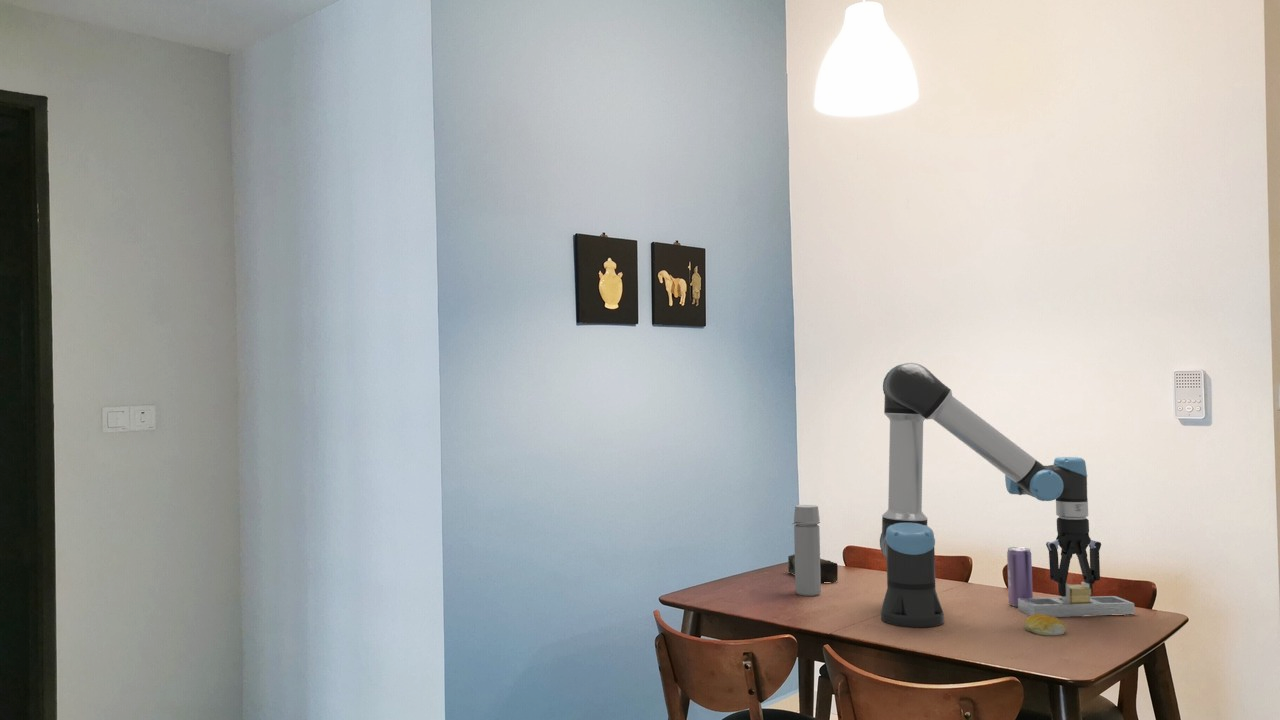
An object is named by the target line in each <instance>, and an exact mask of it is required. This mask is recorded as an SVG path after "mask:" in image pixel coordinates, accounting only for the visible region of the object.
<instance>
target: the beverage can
mask: <svg viewBox="0 0 1280 720" xmlns="http://www.w3.org/2000/svg"><path fill="white" fill-rule="evenodd" d="M1006 553H1007V554H1006V555H1007V556H1006V559H1007V561H1006V563H1007V589H1008V590H1007V591H1008V594H1007V595H1008V603H1009V605H1010V606H1011V605H1012V607H1014V606H1015V607H1016V608H1018V598H1034V597H1033V595H1034V594H1033V593H1034V591H1033V566H1032V552H1031V549H1030V548H1029V547H1022V546H1013V547H1011V546H1010V547H1007V552H1006ZM1015 607H1014V608H1015Z"/></svg>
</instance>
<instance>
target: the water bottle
mask: <svg viewBox="0 0 1280 720" xmlns="http://www.w3.org/2000/svg"><path fill="white" fill-rule="evenodd" d="M820 523H821V520H820V513H819V505H816V504H815V505H814V504H797V505H794V517H793V522H792V523H791V525H794V526H793V532H794V535H793V536H794V554H795V576H794V579H795V581H794V583H795V584H794V585H795V586H794V589H795V590H794V591H795V593H796V594H797V595H799V596H802V595H803V597H816V596H818V595H820V594H821V592H822V589H821V588H822V586H821V585H822V584H821V575H820V559H821V536H820V535H821V534H820V525H819V524H820ZM815 595H816V596H815Z"/></svg>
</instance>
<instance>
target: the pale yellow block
mask: <svg viewBox="0 0 1280 720" xmlns="http://www.w3.org/2000/svg"><path fill="white" fill-rule="evenodd" d="M1069 585H1070V604H1084V603H1089V595H1091V588H1087V587H1084V586H1081V583H1079V584H1069Z"/></svg>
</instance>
